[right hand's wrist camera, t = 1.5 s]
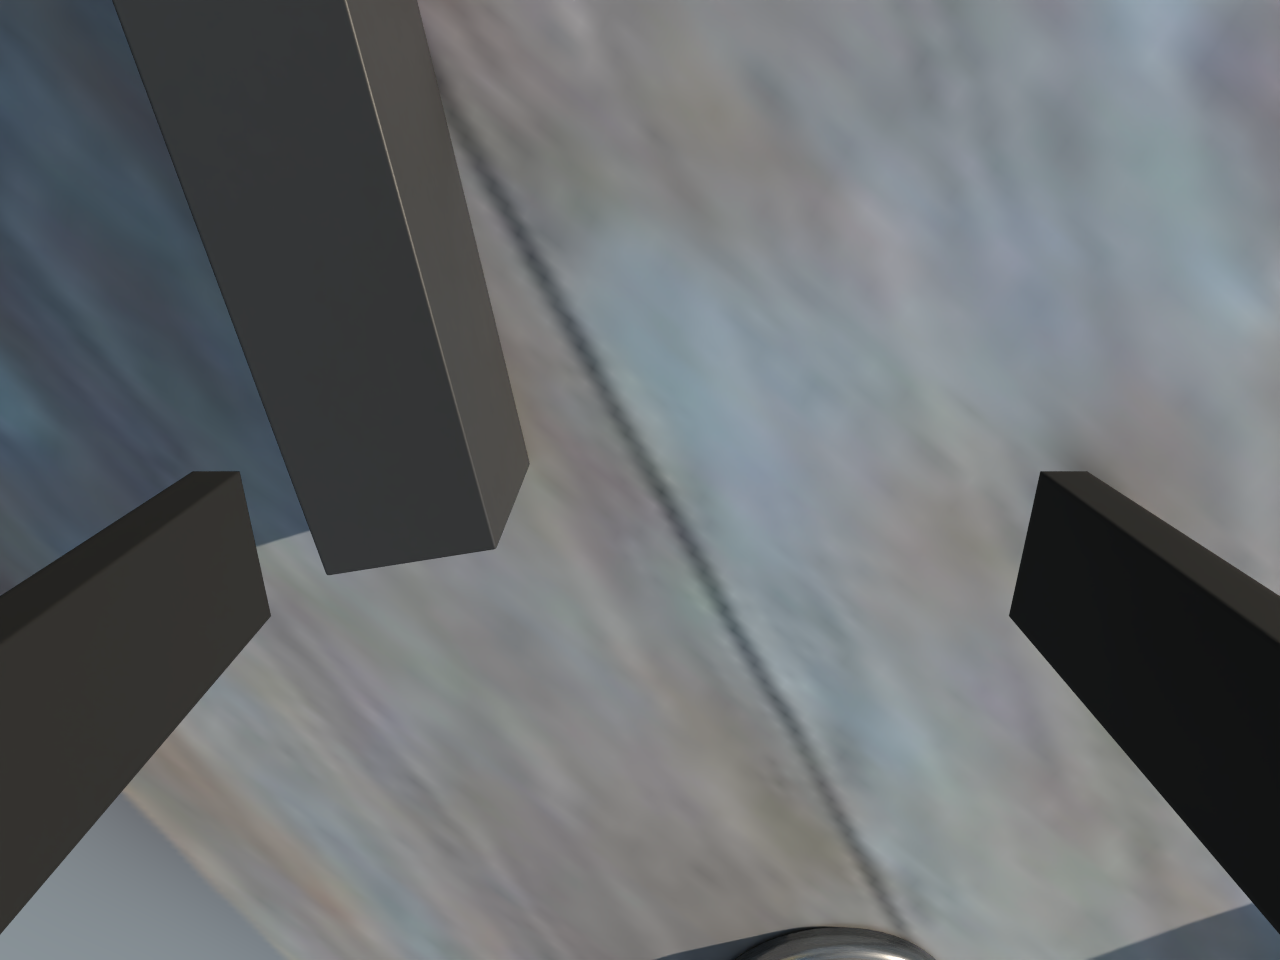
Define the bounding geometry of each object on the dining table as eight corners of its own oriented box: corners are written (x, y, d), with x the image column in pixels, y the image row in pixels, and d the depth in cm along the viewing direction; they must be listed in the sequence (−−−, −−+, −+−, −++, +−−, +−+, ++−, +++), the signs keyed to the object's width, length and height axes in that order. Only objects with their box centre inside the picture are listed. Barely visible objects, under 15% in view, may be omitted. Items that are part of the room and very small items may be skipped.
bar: (530, 464, 31) (496, 549, 24) (398, 486, 32) (326, 576, 24) (313, -426, 21) (141, -749, 14) (124, -379, 22) (-141, -670, 14)
